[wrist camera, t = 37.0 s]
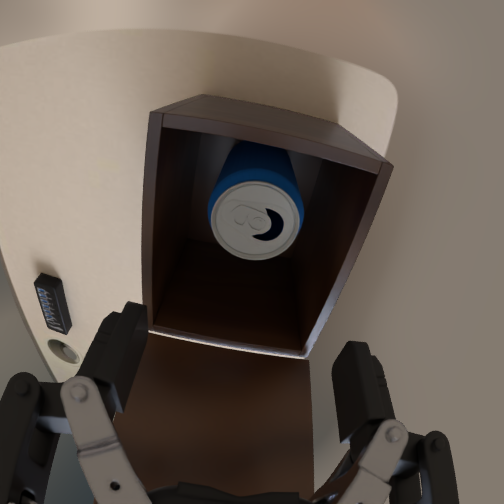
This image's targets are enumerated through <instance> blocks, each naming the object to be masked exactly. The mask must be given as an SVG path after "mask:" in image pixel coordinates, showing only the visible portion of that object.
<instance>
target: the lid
mask: <svg viewBox="0 0 504 504" xmlns="http://www.w3.org/2000/svg"><path fill="white" fill-rule="evenodd" d="M113 424H114V427H115V429H116V431H117V433H118V436H119V438H120V440H121V442H122V444H123V446H124V449H125V451H126V453H127V455H128V457H129V459H130V461H131V463H132V464H133V466H134V468H135V470H136V472H137V474H138V476H139V477H140V479H141V481H142V483H143V485H144V486H145V488H146V490H147V492H149V491H151V490H153V489H156V488H160V487H163V486H170V485H178V481H181V482H187V483H192V484H198V485H205V486H210V487H213V488H215V489H218V490H221V491H224V492H227V493H230V494H233V495H236V496H249V495H255V494H261V493H267V492H299V497H301V498H304V499H307V500H309V499H310V498H311V497H312V495H313V494H314V458H313V457H314V455H313V424H312V402H311V383H310V367H309V360H304V359H295V358H287V357H279V356H272V355H265V354H258V353H251V352H245V351H239V350H232V349H227V348H221V347H215V346H210V345H205V344H200V343H194V342H190V341H185V340H180V339H175V338H171V337H166V336H162V335H157V334H153V333H149V332H148V339H147V344H146V347H145V350H144V352H143V355H142V358H141V361H140V364H139V367H138V370H137V373H136V376H135V379H134V382H133V385H132V388H131V391H130V394H129V397H128V400H127V404H126V407H125V410H124V413H120V412H117V411H116V414H115V417H114V421H113ZM93 504H98V503H97V501H96V499H95V498H94V503H93Z"/></svg>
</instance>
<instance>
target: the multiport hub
mask: <svg viewBox="0 0 504 504" xmlns="http://www.w3.org/2000/svg"><path fill="white" fill-rule="evenodd" d="M34 286H35V289H36V293H37V296H38V300H39V303H40V306H41V309H42V312H43V315H44V318H45V321H46V324H47V327H48V328H49V329H51V330H54V331H56V332H59V333H62V334H65V335H67V334H68V332H69V330H70V328H71V327H72V323H71V319H70V315H69V311H68V307H67V303H66V299H65V294H64V290H63V285H62V281H61V280H60V279H59V278H56V277H52V276H49V275H46V274H43V273H41V274H40V275H39V276H38V278H37V279H36V280H35V281H34Z"/></svg>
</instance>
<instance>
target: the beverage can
mask: <svg viewBox="0 0 504 504" xmlns="http://www.w3.org/2000/svg"><path fill="white" fill-rule="evenodd" d="M303 218H304V206H303V201H302V198H301V194H300V191H299V187H298V184H297V180H296V177H295V174H294V170H293V167H292V163H291V160H290V157H289V155H288V154H287V152H286V151H285V149H283V148H279V147H274V146H270V145H265V144H260V143H255V142H251V141H246V140H244V141H242V142H240V143H238V144H237V145H236V146H235V147H234V148H233V149H232V150H231V151H230V153H229V154H228V156H227V158H226V161H225V163H224V165H223V167H222V170H221V172H220V175H219V177H218V179H217V182H216V184H215V186H214V189H213V191H212V194H211V196H210V199H209V202H208V220H209V223H210V226H211V228H212V231H213V233H214V236H215V238H216V239H217V241H218V242H219V243H220V245H221V246H222V247H223V248H224V249H226V250H227V251H228V252H230V253H231V254H233V255H235V256H237V257H240V258H243V259H248V260H264V259H269V258H272V257H275V256H277V255H279V254H281V253H282V252H284V251H285V250H286V249H287V248H288V247H289V246H290V245H291V244H292V243H293V241H294V240H295V238H296V236H297V234H298V233H299V231H300V228H301V226H302V223H303Z"/></svg>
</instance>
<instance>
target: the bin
mask: <svg viewBox="0 0 504 504" xmlns="http://www.w3.org/2000/svg"><path fill="white" fill-rule="evenodd" d="M244 140H246V141H251V142H255V143H260V144H265V145H270V146H274V147H279V148H283V149H285V151H286V152H287V154H288V155H289V157H290V160H291V163H292V167H293V170H294V174H295V177H296V180H297V184H298V187H299V191H300V194H301V198H302V201H303V206H304V218H303V223H302V226H301V228H300V231H299V233H298V234H297V236H296V238H295V240H294V241H293V243H292V244H291V245H290V246H289V247H288V248H287V249H286V250H285V251H284V252H282V253H281V254H279V255H277V256H275V257H272V258H269V259H264V260H248V259H243V258H240V257H237V256H235V255H233V254H231V253H230V252H228V251H227V250H226V249H224V248H223V247H222V246H221V245H220V243H219V242H218V241H217V239H216V238H215V236H214V233H213V231H212V228H211V226H210V223H209V220H208V202H209V199H210V196H211V194H212V191H213V189H214V186H215V184H216V182H217V179H218V177H219V175H220V172H221V170H222V167H223V165H224V163H225V161H226V158H227V156H228V154H229V153H230V151H231V150H232V149H233V148H234V147H235V146H236V145H237V144H238V143H240V142H242V141H244ZM393 168H394V166H393V165H392V164H391V163H390V162H388V161H387V160H386V159H385V158H383V157H382V156H381V155H380V154H378V153H377V152H376V151H374V150H373V149H372V148H371V147H369V146H368V145H367V144H365V143H364V142H363V141H361V140H360V139H358V138H357V137H356V136H354V135H353V134H352V133H350V132H349V131H347V130H346V129H345V128H343V127H342V126H340V125H339V124H336V123H333V122H330V121H326V120H323V119H319V118H316V117H312V116H308V115H304V114H300V113H296V112H292V111H288V110H284V109H280V108H275V107H271V106H266V105H261V104H256V103H251V102H246V101H241V100H235V99H230V98H224V97H217V96H211V95H204V94H201V95H198V96H194V97H191V98H188V99H185V100H182V101H179V102H176V103H173V104H170V105H167V106H164V107H162V108H159V109H156V110H153V111H151V112H150V115H149V123H148V132H147V142H146V153H145V166H144V181H143V200H142V238H141V263H142V300H143V305H146V306H147V314H148V330H150V331H155V332H159V333H163V334H168V335H172V336H177V337H182V338H186V339H191V340H196V341H201V342H207V343H212V344H217V345H223V346H229V347H235V348H241V349H247V350H253V351H260V352H267V353H274V354H281V355H289V356H299V357H308V355H309V353H310V351H311V350H312V348H313V346H314V344H315V342H316V340H317V338H318V337H319V335H320V333H321V331H322V329H323V327H324V325H325V323H326V321H327V319H328V318H329V315H330V314H331V312H332V309H333V307H334V306H335V304H336V302H337V300H338V298H339V295H340V293H341V291H342V289H343V287H344V285H345V283H346V281H347V279H348V277H349V274H350V272H351V270H352V268H353V266H354V263H355V261H356V259H357V257H358V255H359V252H360V250H361V248H362V245H363V243H364V241H365V239H366V236H367V234H368V232H369V229H370V227H371V225H372V222H373V220H374V217H375V215H376V212H377V210H378V207H379V205H380V202H381V200H382V197H383V195H384V192H385V189H386V187H387V184H388V181H389V179H390V176H391V173H392V171H393Z"/></svg>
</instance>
